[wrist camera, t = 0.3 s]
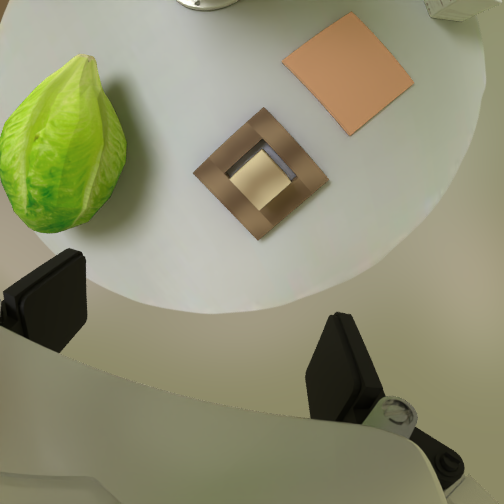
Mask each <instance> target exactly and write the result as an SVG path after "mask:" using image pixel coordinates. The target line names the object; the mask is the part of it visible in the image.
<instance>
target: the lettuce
mask: <svg viewBox="0 0 504 504" xmlns="http://www.w3.org/2000/svg"><path fill="white" fill-rule="evenodd" d="M126 146H127V142H126V139H125V136H124V133H123V130H122V127H121V124H120V122H119V119H118V117H117V115H116V113H115V111H114V109H113V106H112V104H111V102H110V101H109V99H108V98H107V96H106V95H105V93H104V91H103V89H102V86H101V82H100V78H99V74H98V69H97V63H96V60H95V58H94V57H93V56H89V55H85V54H78V55H77V56H75V57H74V58H72V59H71V60H70V61H69V62H68V63H66V64H65V65H64V66H63V67H62V68H60V69H59V70H57V71H56V72H54V73H53V74H52V75H50V76H49V77H47V78H46V79H45V80H44V81H43V82H42V83H41V84H40V85H38V86H37V87H36V88H35V89H34V90H33V91H32V92H31V93H30V95H29V96H28V97H27V98H26V99H25V100H24V101H23V102H22V103H21V104H20V106H19V107H18V108H17V109H16V110H15V111H14V112H13V114H12V115H11V116H10V117H9V118H8V120H7V121H6V122H5V124H4V127H3V130H2V133H1V137H0V178H1V182H2V185H3V187H4V190H5V192H6V194H7V196H8V198H9V201H10V203H11V205H12V208H13V210H14V212H15V213H16V214H17V215H18V216H19V218H20V219H21V220H22V221H23V222H24V223H25V224H26V225H27V226H28V227H29V228H31V229H32V230H34V231H37V232H40V233H58V232H61V231H64V230H67V229H69V228H72V227H75V226H78V225H81V224H84V223H86V222H88V221H89V220H90V219H91V218H92V217H93V216H94V215H95V213H96V212H97V211H98V210H99V209H100V208H101V207H102V206H103V204H104V203H105V202H106V201H107V200H108V199H109V198H110V196H111V194H112V192H113V190H114V187H115V185H116V183H117V181H118V179H119V176H120V174H121V172H122V169H123V167H124V165H125V163H126Z"/></svg>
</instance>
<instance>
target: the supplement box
mask: <svg viewBox="0 0 504 504" xmlns="http://www.w3.org/2000/svg"><path fill="white" fill-rule="evenodd" d="M424 2H425V5H426V8H427V10H428V13H429V15H430V17H431V18H439V19H447V20H453V21H460V22H462V21H464V20H466V19H468V18H470V17H473V16H475V15H477V14H479V13H481V12H484V11H485V10H488V9H490V8H493V7H495V6H497V5H499V4H502V1H501V0H424Z"/></svg>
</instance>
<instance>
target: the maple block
mask: <svg viewBox="0 0 504 504" xmlns="http://www.w3.org/2000/svg"><path fill="white" fill-rule="evenodd" d="M229 180H230V181H231V182H232V183H233V184H234V185H235V186H236V187H237V188H238V189H239V190H240V191H241V192H242V193H243V194H244V195H245V196H246V197H247V199H248V200H249V201H250V202H251V203H252V204H253V205H254V206H255V207H256V208H257V209H258V210H261V209H262V208H263V207H264V206H265V205H266V204H267V203H269V202H270V201H271V200H272V199H273V198H274V197H275V196H277V195H278V194H279V193H280V192H281V191H282V190H283V189H285V188H286V187H287V186H288V185H289V184H290V183H291V181H290V179H289V178H288V176H287V175H286V174H285V172H284V171H283V170H282V169H281V168H280V167H279V166H278V165H277V164H276V163H275V161H274V160H273V159H272V158H271V157H270V156H269V155H268V154H267V153H266V152H265V151H264V150H263V149H261V150H260V151H259V152H258V153H256V154H255V155H254V156H253V157H252V158H251V159H250V160H249V161H248V162H246V163H245V164H244V165H243V166H242V167H241V168H240V169H239V170H238V171H237V172H236V173H235V174H234V175H233V176H232V177H231V178H230V179H229Z"/></svg>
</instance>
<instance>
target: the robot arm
mask: <svg viewBox="0 0 504 504" xmlns="http://www.w3.org/2000/svg"><path fill="white" fill-rule="evenodd" d="M176 1H177V2H179V3H180V4H181V5H183V6H185V7H188V8H191V9H195V10H214V9H220V8H223V7H226V6H229V5H231V4H233V3H235V2H237V1H238V0H176ZM199 4H200V5H199ZM197 5H199V6H197ZM3 295H4V300H3V301H2V302H1V300H0V504H499V503H498V502H497V501H496V500H495V499H494V498H493V497H492V496H491V495H490V494H489V493H488V492H487V491H486V490H485V489H484V488H483V487H482V486H481V485H480V484H479V483H478V482H477V481H476V480H475V479H474V478H473V477H472V476H471V475H469V474H468V475H467V476H465V475H464V474H463V473H464V463H463V461H462V459H461V457H460V456H459V455H458V454H457V453H456V452H454V450H452V449H450V448H449V447H447V446H445V445H444V444H442V443H440V442H439V441H437V440H436V439H434V438H432V437H431V436H429V435H428V434H426V433H424V432H423V431H421V430H420V429H418V428H416V427H415V425H416V423H417V419H418V417H417V413H416V411H415V409H414V407H413V406H412V405H411V404H410V403H408V402H407V401H406V400H404V399H402V398H399V397H395V396H385V394H384V391H383V387H382V385H381V382H380V380H379V377H378V375H377V373H376V370H375V368H374V365H373V363H372V360H371V358H370V356H369V353H368V351H367V349H366V346H365V344H364V342H363V339H362V337H361V335H360V333H359V330H358V328H357V326H356V324H355V321H354V320H353V317H352V316H351V314H345V313H340V312H336V313H335V314H334V315H330V316H329V317H328V320H327V322H326V325H325V327H324V330H323V332H322V335H321V337H320V340H319V342H318V344H317V347H316V349H315V352H314V354H313V356H312V359H311V361H310V363H309V366H308V368H307V370H306V375H305V380H306V387H307V395H308V402H309V410H310V417H311V419H310V418H301V417H292V416H285V415H278V414H271V413H264V412H258V411H253V410H247V409H242V408H236V407H231V406H226V405H221V404H217V403H212V402H207V401H203V400H199V399H195V398H191V397H187V396H183V395H179V394H175V393H171V392H168V391H164V390H161V389H157V388H154V387H150V386H147V385H143V384H141V383H137V382H134V381H131V380H128V379H125V378H122V377H119V376H116V375H113V374H110V373H107V372H105V371H102V370H99V369H97V368H94V367H91V366H88V365H86V364H84V363H81V362H79V361H76V360H74V359H71V358H69V357H66V356H64V355H62V354H59V353H60V352H61V351H62V350H63V348H64V347H65V346H66V345H67V344H68V343H69V341H70V340H71V339H72V338H73V337H74V336H75V334H76V333H77V332H78V331H79V330H80V329H81V328H82V326H83V325H84V324H85V323H86V320H87V299H86V259H85V257H84V256H83V254H82V252H81V251H77V250H74V249H70V248H68V249H66V250H64V251H63V252H61V253H59V254H58V255H56V256H55V257H53V258H52V259H50V260H49V261H47V262H46V263H44V264H42V265H41V266H39V267H38V268H36V269H35V270H33V271H32V272H31V273H29V274H27V275H26V276H24V277H23V278H21V279H20V280H19V281H17V282H16V283H14V284H13V285H12V286H10V287H9V288H7V289H6V290H4V291H3Z"/></svg>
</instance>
